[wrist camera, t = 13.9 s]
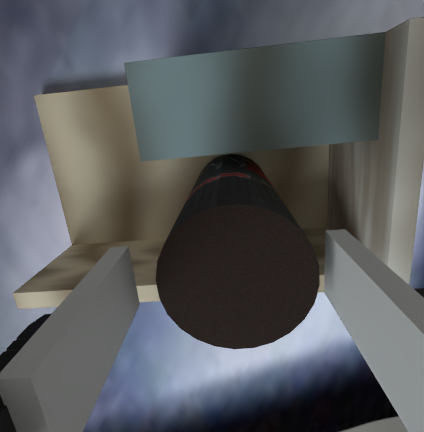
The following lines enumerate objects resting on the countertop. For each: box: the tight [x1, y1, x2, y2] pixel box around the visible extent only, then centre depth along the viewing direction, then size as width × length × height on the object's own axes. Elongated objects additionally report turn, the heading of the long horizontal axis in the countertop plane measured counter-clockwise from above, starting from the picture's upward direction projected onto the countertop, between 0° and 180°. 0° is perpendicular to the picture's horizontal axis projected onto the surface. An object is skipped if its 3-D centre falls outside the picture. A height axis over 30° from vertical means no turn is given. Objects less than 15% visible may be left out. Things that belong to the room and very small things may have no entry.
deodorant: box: [156, 154, 320, 349], centre depth 18 cm, size 6×6×15 cm
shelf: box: [13, 17, 424, 309], centre depth 21 cm, size 24×14×11 cm, turn 96°
